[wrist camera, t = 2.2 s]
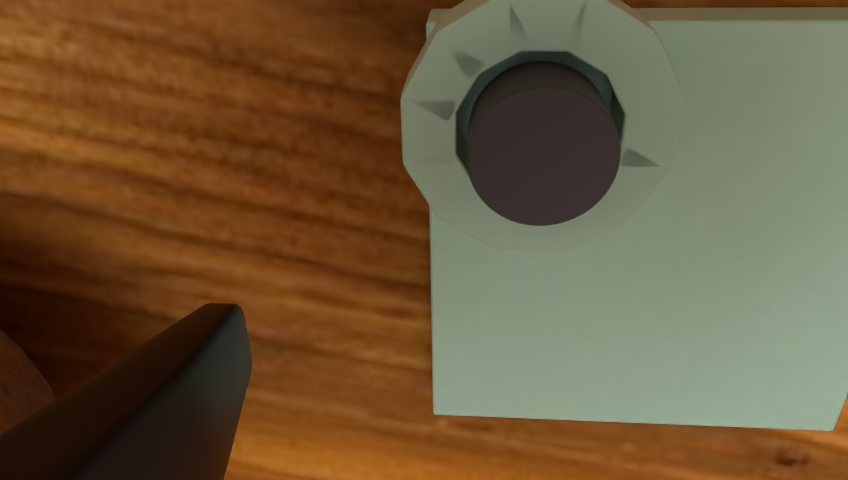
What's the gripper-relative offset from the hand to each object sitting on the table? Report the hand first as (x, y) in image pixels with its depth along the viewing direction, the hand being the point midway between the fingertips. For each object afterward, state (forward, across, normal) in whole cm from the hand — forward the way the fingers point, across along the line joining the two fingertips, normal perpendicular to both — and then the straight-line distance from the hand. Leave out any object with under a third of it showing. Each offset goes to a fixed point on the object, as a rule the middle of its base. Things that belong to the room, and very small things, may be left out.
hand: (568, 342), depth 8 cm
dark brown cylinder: (+8, 0, 0) cm, 8 cm away
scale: (+10, -4, +4) cm, 12 cm away
